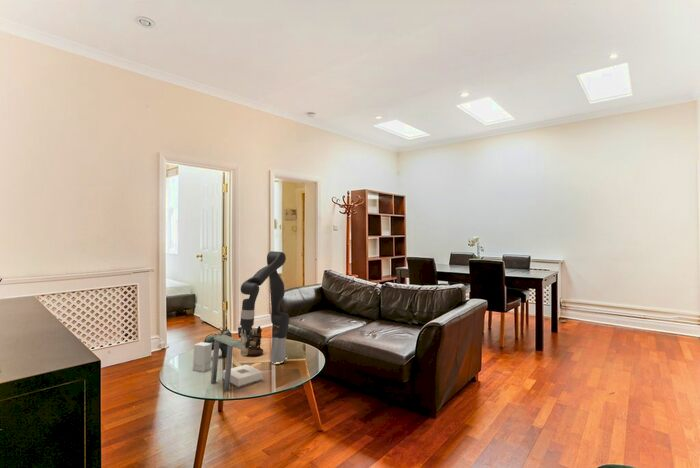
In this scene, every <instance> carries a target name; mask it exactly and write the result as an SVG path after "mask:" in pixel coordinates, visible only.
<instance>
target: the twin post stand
mask: <svg viewBox="0 0 700 468" xmlns="http://www.w3.org/2000/svg"><path fill="white" fill-rule="evenodd" d="M214 339H215V341H214V350H213V353H212V362H211V365H212V367H211V374H210V384H212V385H214V384H217V377H218V376H217V375H218V366H219V365H218V364H219V353H220V349H219V344H220V342H222V343H225V344H227V345H228V347H227V356H226V357H225V358H226V360H225V362H226V363H225V369H224V370H225V381H224V380H223V381H224V384H223V392H228V390H229V391H230V385H231V384H230V375H231V368H232V362H233V361H232V360H233V353H234V352H233V351H234V350H233V349H234V348H235V349H237V350H240V351H241V349H242V341H241V339H240V340H239V339H238V338H234V337H230V336H227V335H221V336H215V337H214Z"/></svg>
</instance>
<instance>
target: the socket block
mask: <svg viewBox="0 0 700 468" xmlns="http://www.w3.org/2000/svg"><path fill="white" fill-rule="evenodd" d="M221 372H222V373H221V380H222V381H225V369H224V370H222V371H221ZM263 373H264V372H263V371H261V370H260V369H257V368H256V367H253V366H251V365H248V364H247V363H246V364H243V365H239V366H234V367H231V375H230V385H231V386H233V387H235V388H237V389H239V387H240V388H243V387H246V385H247V386H249V384H250V385H253V384H255V383H254V382H256V383H259V382H261V380H262V381H263V375H264V374H263ZM258 381H259V382H258ZM252 383H253V384H252Z"/></svg>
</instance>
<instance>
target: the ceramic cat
mask: <svg viewBox="0 0 700 468" xmlns="http://www.w3.org/2000/svg"><path fill="white" fill-rule="evenodd" d="M220 329H221V330H220ZM217 330H218V331H219V330H220V333H219V334H218V333H217V334H216V333H214V334H213V333H211V334H208V335H206V336H205V338H204V341H203V342H205V343H212V351H214V341H215V339H214V337H215V336H221V335H227V336H230V337H232V332H231V331H230V329H227V330H224V328H223V327H219V328H217ZM232 338H233V337H232ZM227 347H228V345H227V344H225V343H222V342H220V344H219V350H220V352H221V357H223V358H227Z"/></svg>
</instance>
